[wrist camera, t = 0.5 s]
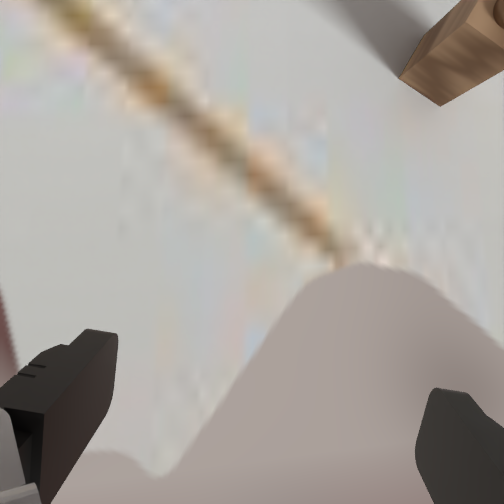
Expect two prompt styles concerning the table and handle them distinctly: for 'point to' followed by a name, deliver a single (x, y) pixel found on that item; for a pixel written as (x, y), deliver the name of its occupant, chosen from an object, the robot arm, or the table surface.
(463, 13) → the walnut block
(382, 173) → the table surface
